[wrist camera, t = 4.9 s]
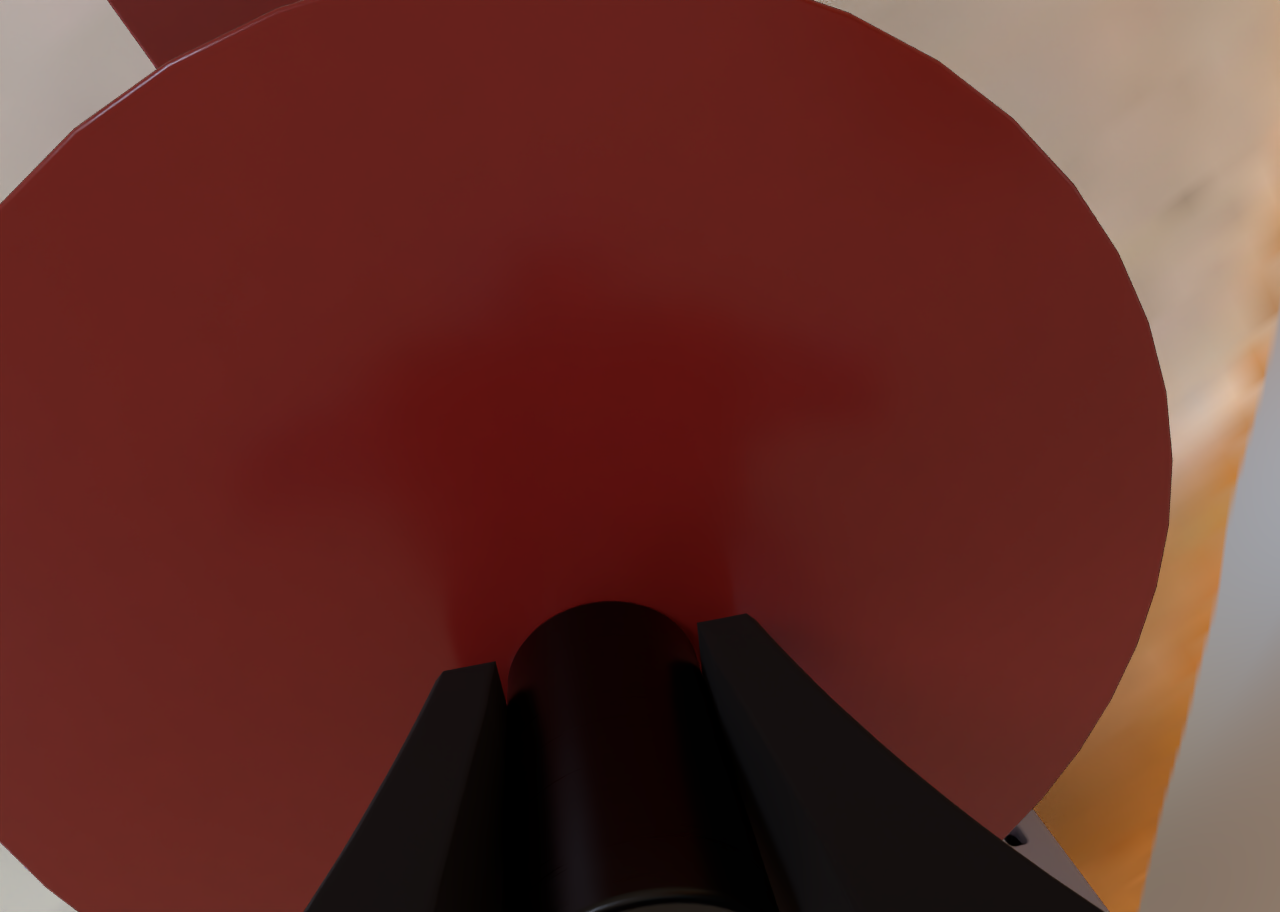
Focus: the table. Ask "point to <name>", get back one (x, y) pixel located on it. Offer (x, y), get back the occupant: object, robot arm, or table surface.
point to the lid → (547, 440)
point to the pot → (185, 22)
